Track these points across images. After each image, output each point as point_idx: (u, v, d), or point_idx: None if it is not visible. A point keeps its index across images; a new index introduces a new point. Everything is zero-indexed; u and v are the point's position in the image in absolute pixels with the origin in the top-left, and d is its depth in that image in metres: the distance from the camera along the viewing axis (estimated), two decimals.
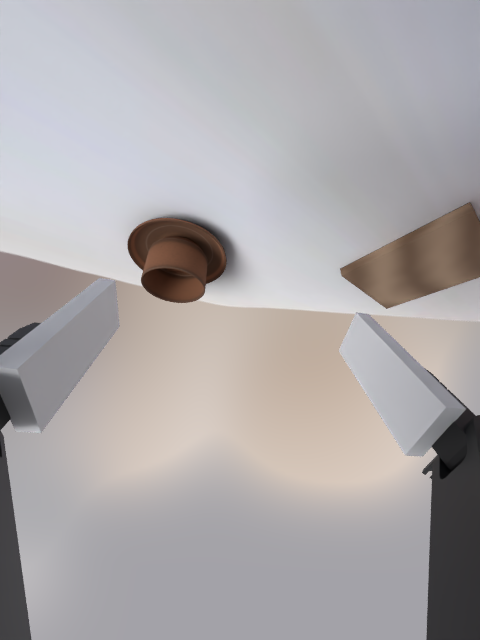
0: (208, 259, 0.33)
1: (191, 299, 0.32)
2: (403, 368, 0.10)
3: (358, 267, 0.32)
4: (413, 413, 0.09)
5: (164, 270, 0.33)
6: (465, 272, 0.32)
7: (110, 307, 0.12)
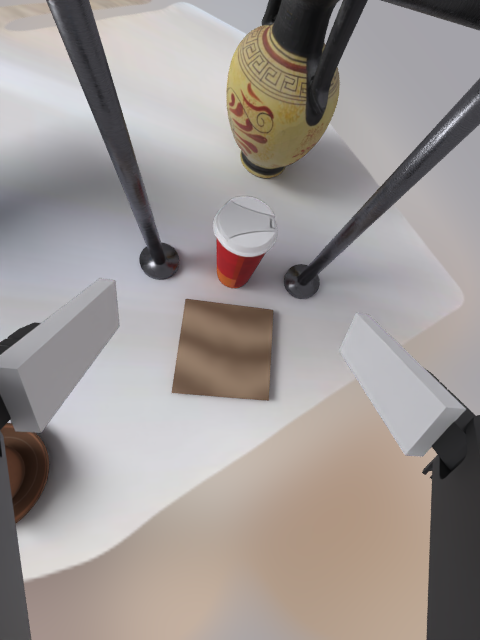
0: (34, 466, 0.30)
1: None
2: (403, 368, 0.10)
3: (174, 375, 0.35)
4: (413, 413, 0.09)
5: None
6: (256, 326, 0.38)
7: (110, 307, 0.12)
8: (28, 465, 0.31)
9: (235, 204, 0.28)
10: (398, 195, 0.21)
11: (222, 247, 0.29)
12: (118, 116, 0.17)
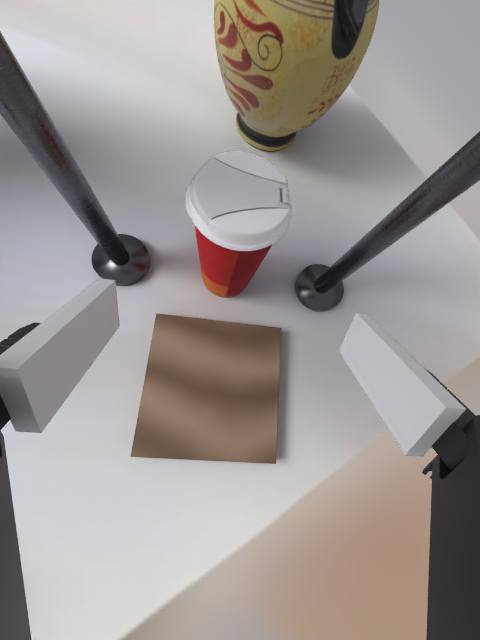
0: None
1: None
2: (403, 368, 0.10)
3: None
4: (413, 413, 0.09)
5: None
6: (257, 352, 0.27)
7: (110, 307, 0.12)
8: None
9: (222, 163, 0.17)
10: None
11: (202, 236, 0.18)
12: None
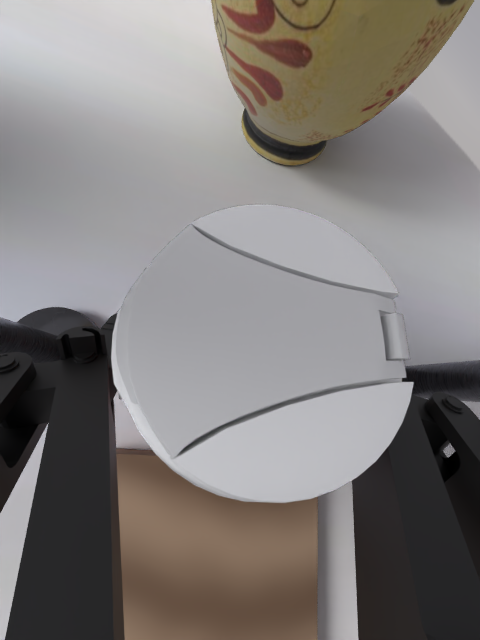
0: None
1: None
2: None
3: None
4: None
5: None
6: (279, 514, 0.16)
7: None
8: None
9: (216, 245, 0.06)
10: None
11: None
12: None
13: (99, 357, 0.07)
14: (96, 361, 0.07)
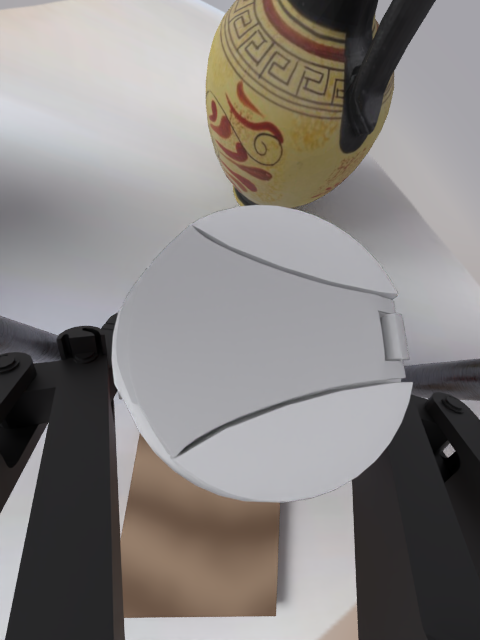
0: None
1: None
2: None
3: None
4: None
5: None
6: None
7: None
8: None
9: (216, 246, 0.06)
10: None
11: None
12: None
13: (99, 357, 0.07)
14: (96, 361, 0.07)
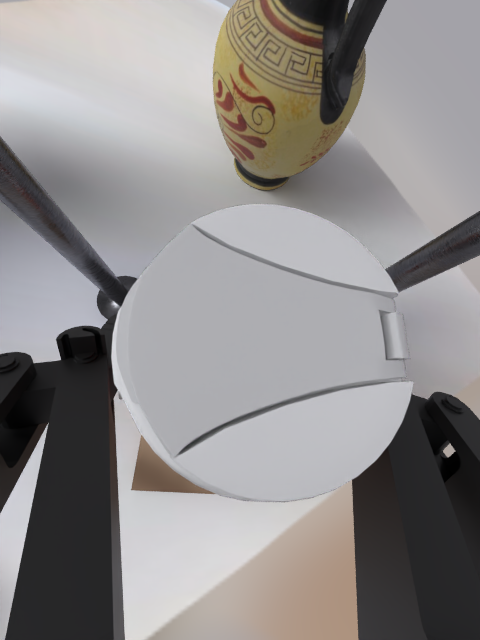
0: None
1: None
2: None
3: (136, 464, 0.25)
4: None
5: None
6: None
7: None
8: None
9: (216, 245, 0.06)
10: None
11: None
12: None
13: (99, 357, 0.07)
14: (96, 361, 0.07)
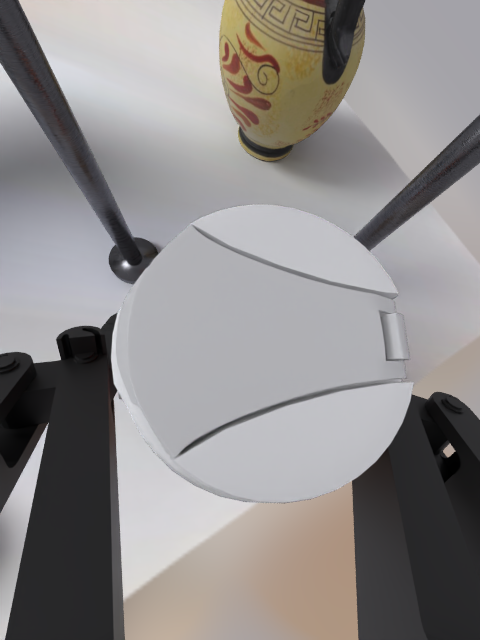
0: None
1: None
2: None
3: None
4: None
5: None
6: None
7: None
8: None
9: (216, 245, 0.06)
10: None
11: None
12: None
13: (99, 357, 0.07)
14: (96, 361, 0.07)
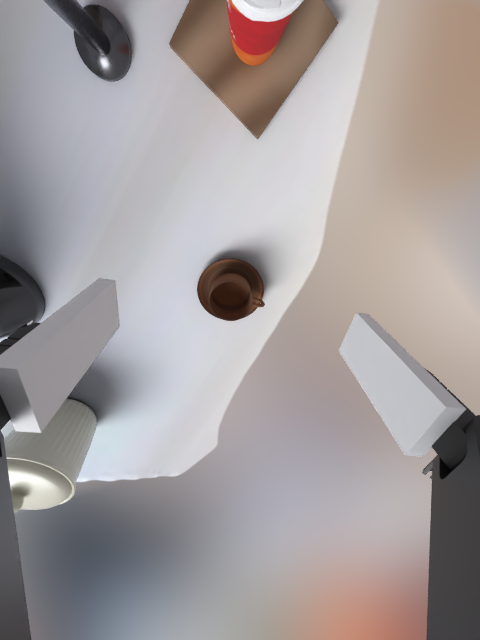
0: (239, 270, 0.44)
1: (250, 292, 0.40)
2: (403, 368, 0.10)
3: (245, 124, 0.33)
4: (413, 413, 0.09)
5: (243, 303, 0.45)
6: None
7: (110, 307, 0.12)
8: (236, 273, 0.44)
9: None
10: None
11: (268, 23, 0.20)
12: None
13: None
14: None
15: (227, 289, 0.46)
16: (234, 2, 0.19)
